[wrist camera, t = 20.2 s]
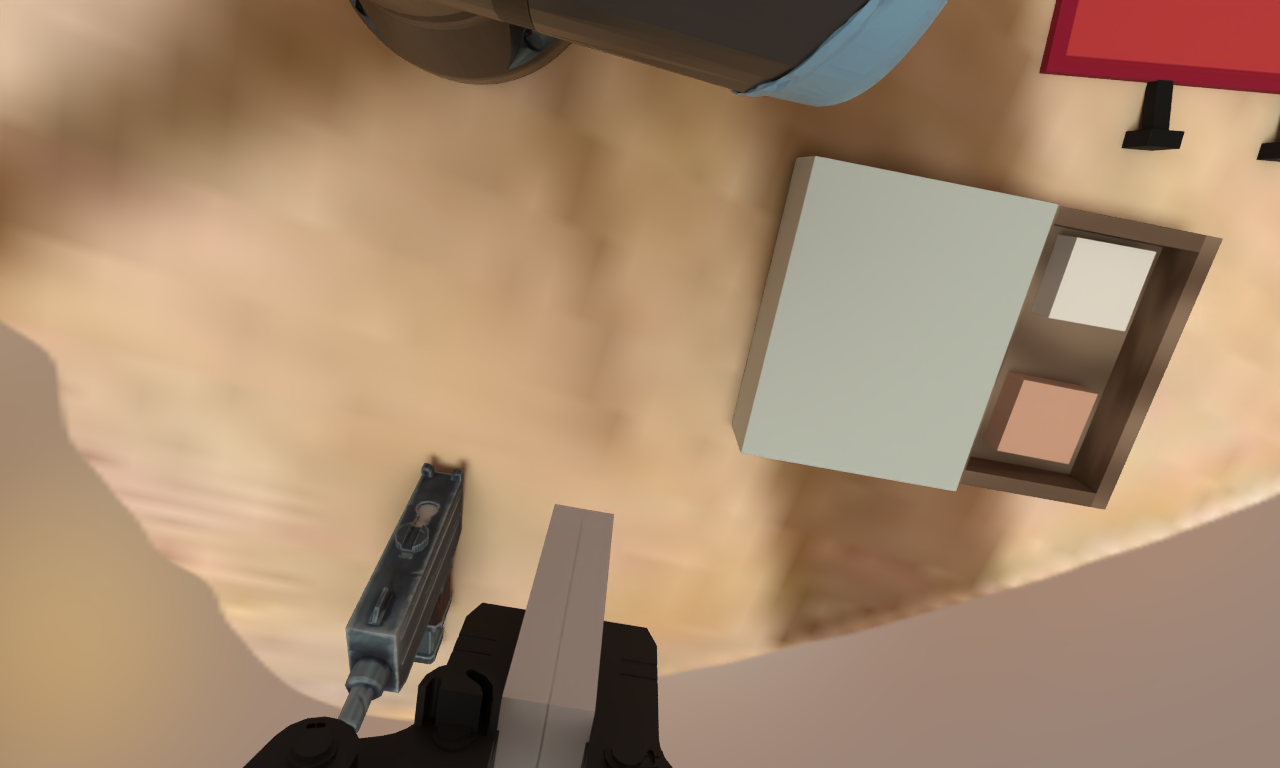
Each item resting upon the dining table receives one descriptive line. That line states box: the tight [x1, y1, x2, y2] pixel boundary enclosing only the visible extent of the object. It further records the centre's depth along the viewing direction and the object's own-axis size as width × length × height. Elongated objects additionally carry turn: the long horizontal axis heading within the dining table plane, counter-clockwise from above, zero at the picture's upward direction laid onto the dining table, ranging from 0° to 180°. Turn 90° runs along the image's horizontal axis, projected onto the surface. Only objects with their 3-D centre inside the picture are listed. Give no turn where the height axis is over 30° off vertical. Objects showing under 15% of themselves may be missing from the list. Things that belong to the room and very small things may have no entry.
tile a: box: [1031, 234, 1156, 331], centre depth 43 cm, size 5×5×2 cm
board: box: [732, 156, 1059, 491], centre depth 43 cm, size 18×14×5 cm
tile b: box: [983, 371, 1098, 464], centre depth 46 cm, size 5×5×2 cm
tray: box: [959, 206, 1222, 509], centre depth 44 cm, size 18×11×4 cm, turn 169°
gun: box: [338, 463, 463, 733], centre depth 44 cm, size 3×17×15 cm
